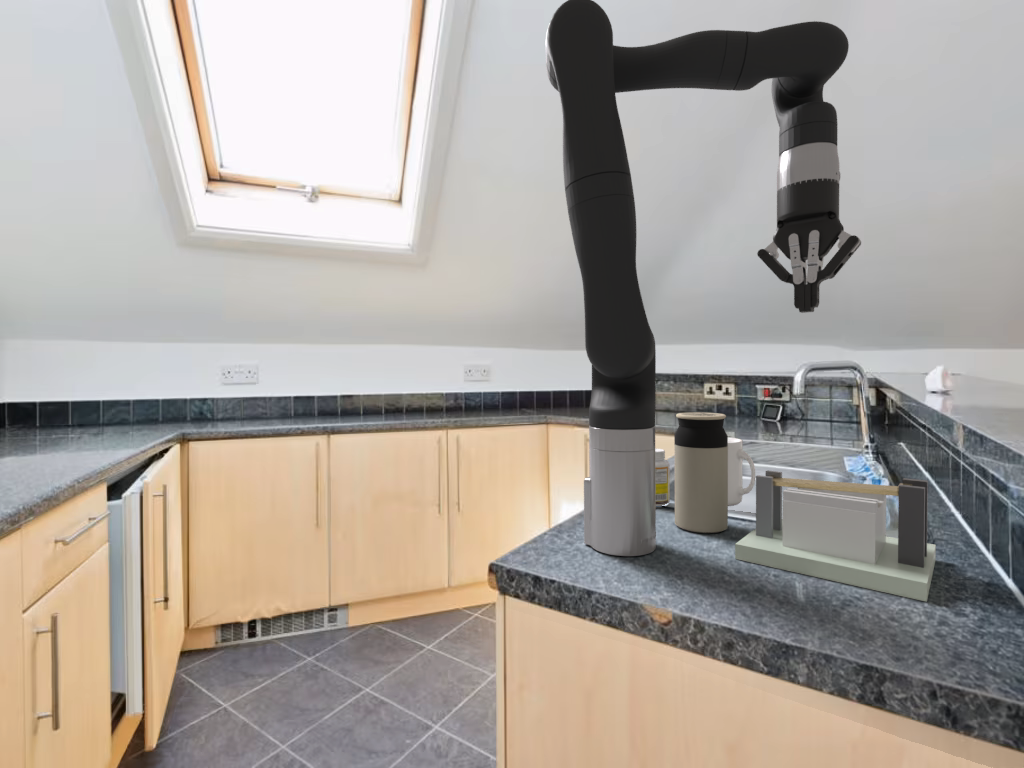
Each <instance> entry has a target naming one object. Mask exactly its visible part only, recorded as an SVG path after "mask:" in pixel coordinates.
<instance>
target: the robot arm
mask: <svg viewBox="0 0 1024 768" xmlns="http://www.w3.org/2000/svg"><path fill="white" fill-rule="evenodd" d="M612 27H613V26H612V23H611V20H610V17H609V16H608V15H607V13H606V10H604V8H603V7H602V6H601V5H599V4H598V3H597V2H595V0H566V1H565V2H563V3H562V4H561V5H559V7H558V8H557V9H556V11H555V12H554V13H553V14H552V17H551V19H550V21H549V24H548V26H547V30H546V34H545V41H544V42H545V45H544V47H545V62H546V64H545V65H546V66H545V67H546V75H547V77H548V81H549V83H550V84H551V86H552V87H553V88H554V90H556V91H557V92H558V95H559V98H560V106H561V112H562V113H561V114H562V165H563V166H562V171H563V172H562V173H563V185H564V192H565V199H566V206H567V215H568V219H569V224H570V231H571V236H572V242H573V245H574V250H575V254H576V255H575V256H576V258H577V263H578V266H579V270H580V274H581V281H582V290H583V304H584V305H583V307H584V339H585V340H584V342H585V343H584V345H585V350H586V355H587V358H588V360H589V362H590V364H591V394H590V401H589V409H588V425H589V426H588V427H589V428H588V432H589V433H588V435H589V437H588V438H589V439H588V444H589V445H588V446H589V451H588V453H589V476H587V477H585V478H584V479H583V541H584V542H583V543H584V544H585V545H587V546H590V547H591V548H593V549H594V550H596V551H597V552H600V553H603V554H606V555H611V556H618V557H620V556H621V557H636V556H645V555H647V554H651V553H653V552H654V551H656V548H657V545H656V544H657V538H656V537H657V529H656V520H657V518H656V517H657V516H656V514H657V510H656V509H657V507H656V476H655V449H656V408H657V407H656V404H657V403H656V402H657V398H656V397H657V395H656V393H657V391H656V388H657V387H656V379H657V378H656V375H657V374H656V372H657V371H656V366H657V365H656V359H657V357H656V351H657V350H656V341H655V337H654V333H653V332H652V329H651V327H650V324H649V319H648V317H647V313H646V310H645V305H644V301H643V297H642V293H641V289H640V283H639V279H638V273H637V271H638V270H637V261H636V260H637V215H636V214H637V213H636V211H637V210H636V201H635V195H634V187H633V182H632V175H631V169H630V162H629V158H628V152H627V148H626V143H625V137H624V132H623V127H622V122H621V118H620V114H619V110H618V109H619V108H618V104H617V97H616V94H617V93H618V94H619V93H629V92H638V91H648V90H649V91H650V90H662V89H663V90H665V89H666V90H667V89H700V90H701V89H704V90H716V91H717V90H718V91H719V90H720V91H736V92H737V91H738V92H739V91H747V90H751V89H752V88H755V86H757V85H759V83H762V82H763V81H765V80H771V79H772V80H771V97H772V99H771V100H772V103H773V107H774V112H775V117H776V120H777V124H778V127H779V134H778V164H777V165H778V166H777V172H776V230H775V232H774V234H773V236H772V242H771V243H770V244H768V245H767V246H766V247H765V248H761V249H759V250H758V251H757V253H756V254H757V257H758V258H759V259H760V260H761V261H762V262H763V263H764V264H765V265H766V266H767V267H768V268H769V270H771V272H772V273H773V274H774V275H775V276H776V277H777V278H778V279H779V281H780V282H784V283H785V284H791V285H793V305H794V308H795V309H798V311H799V313H802V314H803V313H805V314H806V313H814V312H815V308H818V307H819V305H820V286H821V284H822V283H823V282H824V281H826V280H830V279H834V278H835V277H836V275H838V273H840V270H841V269H843V267H844V266H845V265H846V264H847V262H849V260H850V258H852V256H853V255H854V254H855V252H856V251H857V250H858V249H859V248H860V247H861V245H862V241H861V238H859V237H858V236H856V235H851V234H850V233H848V232H846V231H844V226H843V225H844V224H842V223H841V220H840V181H841V171H840V157H839V152H838V114H837V113H838V112H837V109H836V108H835V106H834V105H833V104H832V103H830V102H828V101H824V97H823V96H824V95H823V94H824V93H823V92H824V87H825V85H826V84H827V82H828V81H830V79H832V78H833V76H834V75H835V74H836V73H837V71H839V69H840V68H841V67H842V65H843V64H844V62H845V60H846V59H847V57H848V52H849V45H850V44H849V39H848V37H847V35H846V34H845V32H844V31H843V30H842V29H841V28H840V27H838V26H837V25H835V24H833V23H829V22H826V21H815V20H814V21H804V22H799V23H792V24H787V25H782V26H777V27H773V28H772V27H771V28H769V29H765V30H761V31H750V30H749V31H747V30H725V29H711V30H707V29H706V30H701V31H696V32H692V33H691V32H690V33H687V34H685V35H681V36H678V37H674V38H672V39H668V40H665V41H661V42H657V43H653V44H647V45H644V46H620V45H614V33H613V32H614V31H613V28H612ZM838 240H839V241H838ZM837 242H838V243H837ZM836 243H837V248H838V251H836V253H835V254H834V255H833V256H832V258H831V259H830V260H828V262H827V264H826V266H823V265H824V258H825V257H826V256H827V255H828V254H829V253H830V251H831V250H832V249H833V247H834V246H835V244H836ZM778 250H780V251H781V252H782V253H783V255H784V256H785V257H786V258H787V259H788V260H789V261H790V267H791V271H792V273H790V272H789V270H787V269H786V268H785V267H784V266H783V264H781V262H780V261H779V260H778V258H779V257H780V254H779V252H778ZM823 267H824V268H823Z"/></svg>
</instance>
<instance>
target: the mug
mask: <svg viewBox="0 0 1024 768" xmlns="http://www.w3.org/2000/svg"><path fill="white" fill-rule="evenodd" d="M743 446H744V445H743V440H742V439H741V438H737V437H736V438H735V437H730V436H729V437H728V507H733V506H738V505H739V504H741V503H742V500H743V496H744V495H747V494H749V493H751V491H753V489H754V487H755V485H756V468H755V466H756V465H755V463H754V461H753V459H752V457H751V456H750V455H749V454H748V453H747V452H746V451H745V450H743ZM743 460H746V461H747V462H748V464H749V467H750V474H751V475H750V476H751V478H750V482H749V484H748V486H746V487H745V488H743V487H744V486H743V478H744V477H743V476H744V475H743Z"/></svg>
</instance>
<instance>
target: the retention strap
mask: <svg viewBox="0 0 1024 768" xmlns="http://www.w3.org/2000/svg"><path fill="white" fill-rule="evenodd" d="M769 477H773V486H782V487H786V488H795V489H798V488H808V489H821V490H833V491H845V492H857V493H869V494H881V495H886V496H894V497H895V496H896V497H899V485H909V486H912V484H904V483H903V482H899V484H898V486H897V485H886V484H873V483H859V482H841V481H830V480H829V481H828V480H817V479H816V480H815V479H807V480H804V479H805V478H788V477H782V478H777V477H775V476H773V475H770V476H769Z"/></svg>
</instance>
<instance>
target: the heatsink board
mask: <svg viewBox="0 0 1024 768" xmlns="http://www.w3.org/2000/svg"><path fill="white" fill-rule="evenodd" d="M770 475H773V476H775V477H777V478H783V471H776V470H765V475H762V474H761V475H759V474H757V475H755V529H753V530H752V531H750V532H749V533H748V534H746V535H744V537H742V538H741V539H740V540H738V541H737V542H736V543H735V544H734V551H735V552H734V555H735V556H734V559H735V560H738V561H742V562H743V561H744V562H748V563H753V564H756V565H757V564H758V565H760V566H761V565H762V566H766V567H771V568H775V569H779V570H783V571H789V572H792V573H795V574H801V575H806V576H810V577H815V578H819V579H824V580H828V581H831V582H832V581H833V582H837V583H841V584H845V585H850V586H855V587H859V588H863V589H868V590H873V591H877V592H882V593H887V594H890V595H895V596H899V597H904V598H908V599H913V600H917V601H922V602H928V597H929V593H930V588H931V583H932V580H933V574H934V568H935V565H936V557H937V556H936V551H937V548H936V544H933V543H928V509H929V507H928V506H929V505H928V502H929V500H928V499H929V498H928V497H929V495H928V493H929V487H928V486H929V480H925V479H924V480H923V479H917V478H916V479H915V478H905V477H904V478H902V483H904V484H912V486H909V485H899V484H898V486H899V496H898V512H897V513H898V519H897V520H898V522H897V523H898V526H897V528H898V532H897V537H892V536H887V495H881V494H869V493H857V492H845V491H833V490H821V489H808V488H792V487H786V488H785V489H784V490H783V486H773V477H769V476H770ZM803 479H804V480H808V479H805V478H803Z"/></svg>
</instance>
